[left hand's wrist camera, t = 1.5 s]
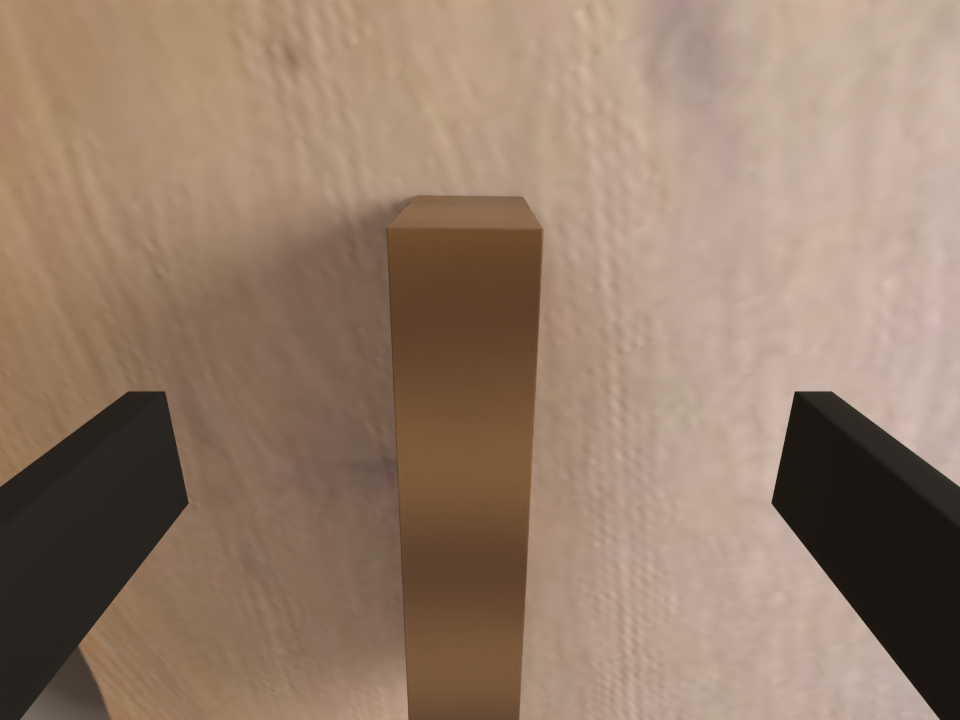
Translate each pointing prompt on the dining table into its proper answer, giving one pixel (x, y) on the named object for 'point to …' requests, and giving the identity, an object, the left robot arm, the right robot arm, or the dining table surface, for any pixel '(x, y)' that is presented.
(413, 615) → the bar
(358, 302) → the dining table surface
